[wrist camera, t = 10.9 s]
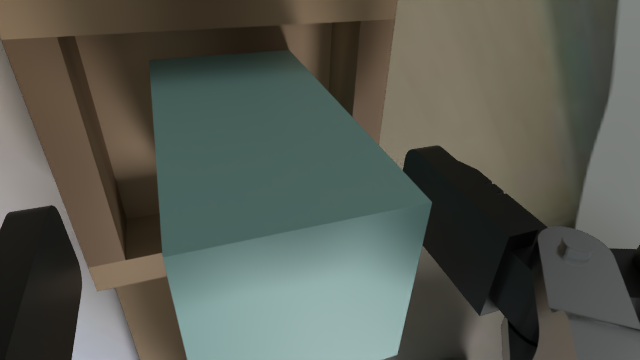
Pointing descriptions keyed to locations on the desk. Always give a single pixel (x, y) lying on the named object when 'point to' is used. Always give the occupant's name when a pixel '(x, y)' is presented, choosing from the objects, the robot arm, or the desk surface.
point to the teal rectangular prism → (279, 214)
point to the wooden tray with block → (137, 115)
